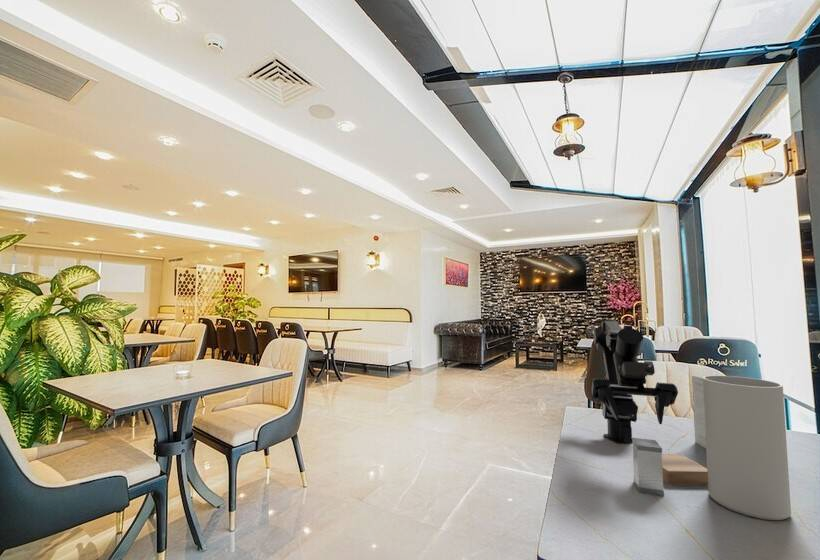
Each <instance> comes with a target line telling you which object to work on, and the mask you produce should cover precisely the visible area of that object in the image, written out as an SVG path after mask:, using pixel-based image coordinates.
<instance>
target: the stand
mask: <svg viewBox="0 0 820 560" xmlns="http://www.w3.org/2000/svg"><path fill="white" fill-rule="evenodd" d="M662 469H663V483H666V484H667V485H670V486H708V471H707V467H705V466H703V465H701V464H699V463H697V462H696V461H695V460H693V459H692V458H691V459H690V458H688V457H686V456H685V455H683V454H680V453H679V454H678V453H674V454H671V453H668V454H667V453H665V454H664V453H662Z"/></svg>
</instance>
